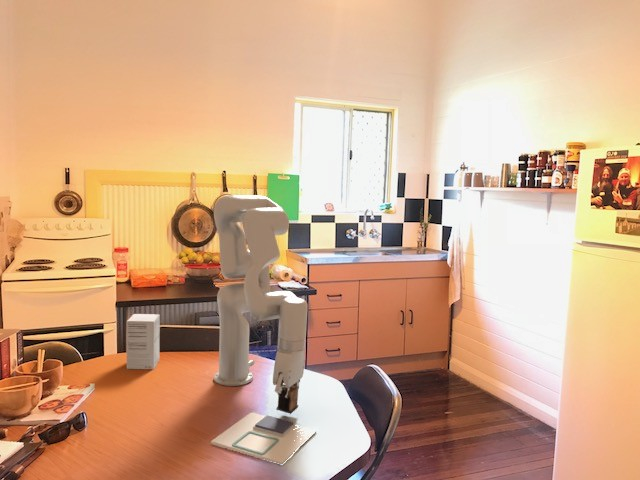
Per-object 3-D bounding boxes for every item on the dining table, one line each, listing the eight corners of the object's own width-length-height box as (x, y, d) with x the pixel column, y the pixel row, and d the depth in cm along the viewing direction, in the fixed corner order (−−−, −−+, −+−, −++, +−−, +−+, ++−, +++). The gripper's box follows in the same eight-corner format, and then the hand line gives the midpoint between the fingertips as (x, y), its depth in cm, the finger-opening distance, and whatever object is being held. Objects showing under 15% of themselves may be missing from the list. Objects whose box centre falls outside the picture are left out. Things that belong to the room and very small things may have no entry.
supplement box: (133, 359, 178) (133, 313, 176) (159, 359, 179) (160, 313, 178) (125, 369, 169) (125, 320, 167) (154, 369, 170) (154, 321, 168)
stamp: (284, 403, 143) (285, 383, 142) (298, 407, 141) (299, 386, 140) (276, 409, 138) (277, 389, 138) (290, 413, 137) (292, 393, 136)
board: (251, 415, 139) (251, 408, 139) (316, 432, 131) (316, 425, 131) (211, 444, 123) (211, 436, 123) (282, 466, 115) (282, 457, 115)
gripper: (293, 332, 146) (290, 391, 149) (263, 349, 131) (260, 415, 134) (317, 337, 143) (312, 398, 146) (289, 355, 128) (284, 422, 130)
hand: (287, 405), depth 139 cm, fingers closed on stamp, 4 cm apart
